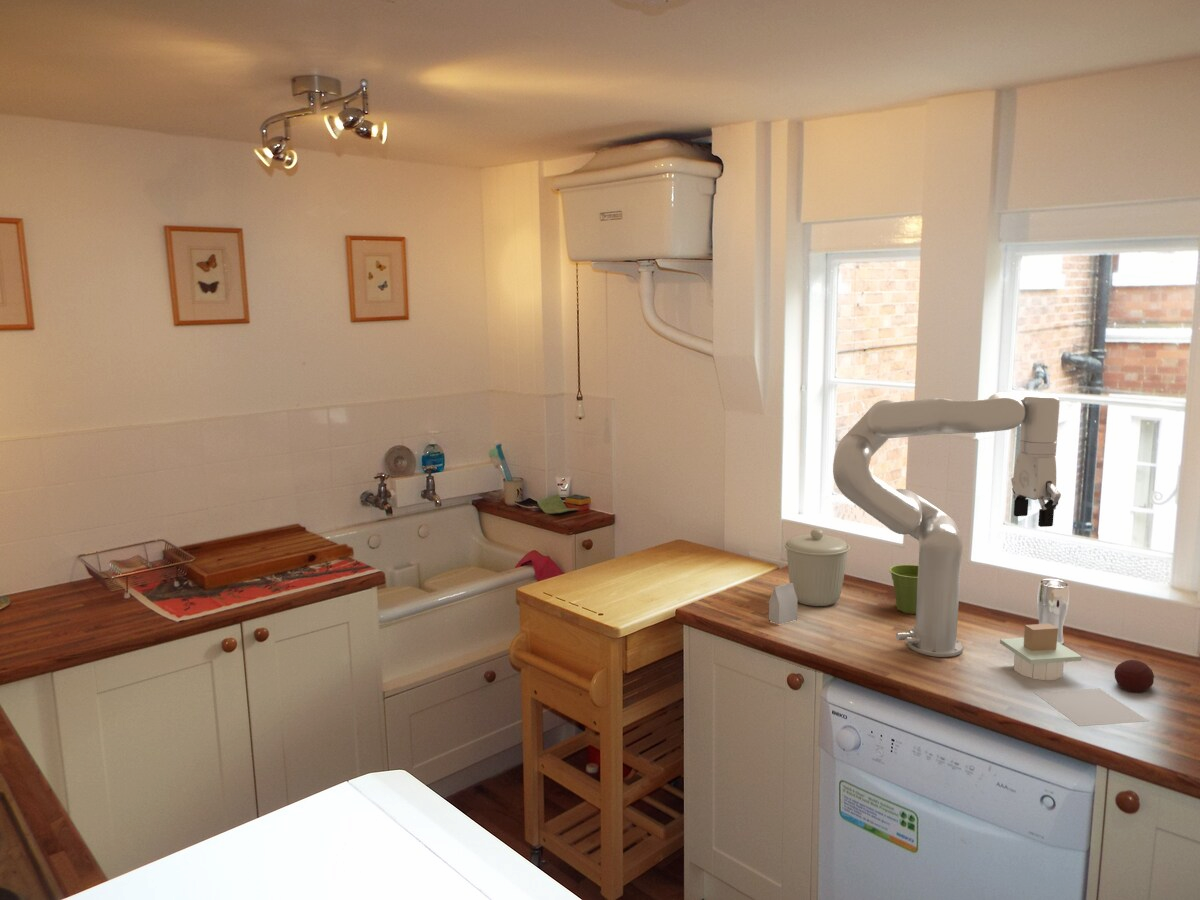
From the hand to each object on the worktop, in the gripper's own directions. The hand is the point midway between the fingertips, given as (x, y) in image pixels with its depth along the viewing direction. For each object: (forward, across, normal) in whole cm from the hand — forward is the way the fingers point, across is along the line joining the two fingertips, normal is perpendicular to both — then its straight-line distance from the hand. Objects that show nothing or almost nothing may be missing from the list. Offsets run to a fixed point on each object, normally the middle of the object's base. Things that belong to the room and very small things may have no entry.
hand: (1032, 520), depth 204 cm
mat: (+33, +27, -2) cm, 43 cm away
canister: (+34, -45, -35) cm, 66 cm away
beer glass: (+34, -8, +12) cm, 36 cm away
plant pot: (+34, -34, -12) cm, 49 cm away
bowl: (+33, +9, -2) cm, 35 cm away
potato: (+34, +20, +14) cm, 41 cm away
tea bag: (+34, -31, -49) cm, 67 cm away
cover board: (+28, +9, -2) cm, 30 cm away
